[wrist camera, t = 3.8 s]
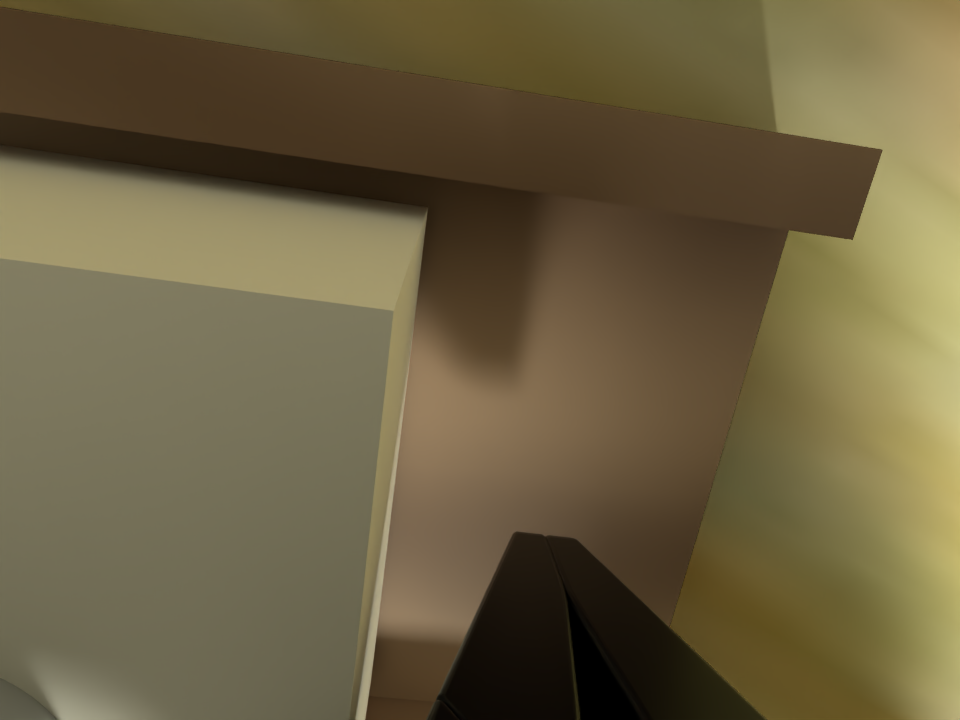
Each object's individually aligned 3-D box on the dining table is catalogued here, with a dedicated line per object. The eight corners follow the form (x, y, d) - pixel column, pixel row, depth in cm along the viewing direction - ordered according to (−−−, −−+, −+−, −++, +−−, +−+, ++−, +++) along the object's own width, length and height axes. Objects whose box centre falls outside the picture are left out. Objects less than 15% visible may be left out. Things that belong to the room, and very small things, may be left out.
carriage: (370, 683, 11) (279, 1281, 6) (0, 650, 11) (-526, 1261, 5) (427, 207, 9) (368, 385, 3) (-58, 136, 8) (-1301, 179, 2)
